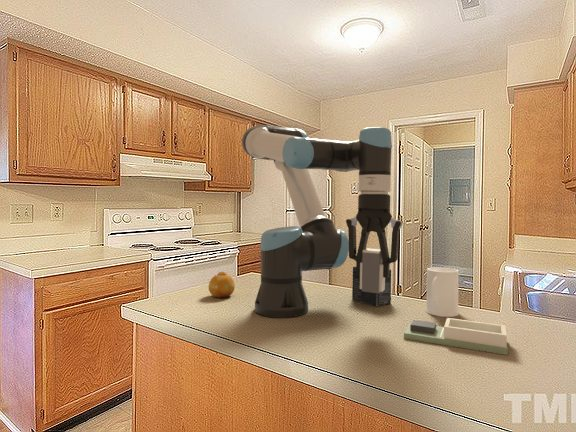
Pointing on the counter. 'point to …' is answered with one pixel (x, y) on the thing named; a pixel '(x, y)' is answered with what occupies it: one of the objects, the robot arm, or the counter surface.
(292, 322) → the counter surface
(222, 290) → the fruit
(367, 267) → the plug
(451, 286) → the white upright cylinder
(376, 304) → the box
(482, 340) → the tray
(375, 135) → the robot arm
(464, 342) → the board
